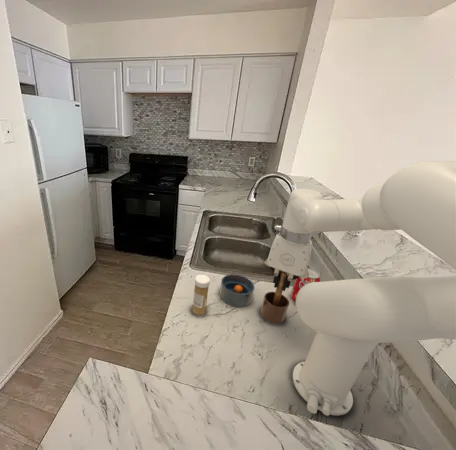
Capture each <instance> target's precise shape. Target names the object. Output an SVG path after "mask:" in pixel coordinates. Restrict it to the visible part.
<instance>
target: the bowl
mask: <svg viewBox="0 0 456 450" xmlns="http://www.w3.org/2000/svg"><path fill="white" fill-rule="evenodd" d="M236 285H240V286H241V287H242V288H243V291H242V293H240V294H239V293H236V292H235V291H234V287H235V286H236ZM254 292H255V285H254V282H253V281H252V280H251V279H249V278H248V277H246V276H243V275H241V274H237V273H236V274H235V273H234V274H233V273H230V274H226V275H224V276H223V277H222V278H221V281H220V287H219V297H220V299H221V300H222V302H224V303H226V304H227V305H229V306H231V307H235V308H245V307H248V306H249V305H250V304H251V303H252V301H253V296H254Z"/></svg>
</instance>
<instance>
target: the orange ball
mask: <svg viewBox="0 0 456 450" xmlns="http://www.w3.org/2000/svg"><path fill="white" fill-rule="evenodd" d="M234 291H235V292H236V293H239V294H240V293H242V291H243V288H242V287H241V286H240V285H236V286H235V287H234Z"/></svg>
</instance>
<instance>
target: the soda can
mask: <svg viewBox="0 0 456 450" xmlns="http://www.w3.org/2000/svg"><path fill="white" fill-rule="evenodd" d="M307 268H308V273H309V276H308V278H297V279H294V282H293V285H292V288H291V293H290V298H291V300H292V301H294V302H295V303H296V297H297V294H298V292H299V290H300V289H301V288H302V287H303V286H305V285H306V284H308V283H312V282H321V274H320V272H319V271H318V270H315V269H313V268H310V267H307Z"/></svg>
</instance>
